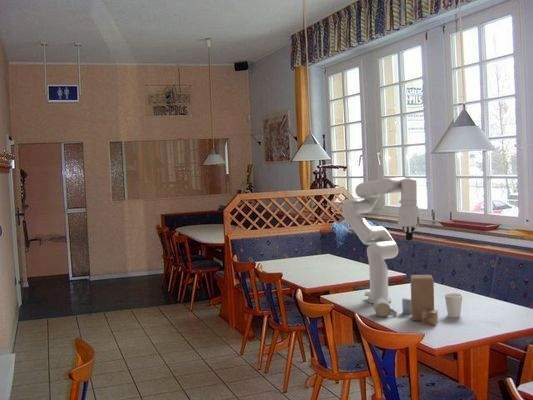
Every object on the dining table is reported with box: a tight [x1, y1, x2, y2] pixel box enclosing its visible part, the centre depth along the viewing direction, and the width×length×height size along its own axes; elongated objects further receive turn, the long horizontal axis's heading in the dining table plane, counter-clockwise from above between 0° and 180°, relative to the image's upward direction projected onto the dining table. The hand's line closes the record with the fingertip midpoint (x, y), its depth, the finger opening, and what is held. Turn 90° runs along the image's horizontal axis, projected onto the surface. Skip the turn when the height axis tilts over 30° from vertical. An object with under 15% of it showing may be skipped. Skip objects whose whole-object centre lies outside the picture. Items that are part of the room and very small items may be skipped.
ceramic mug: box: [373, 298, 398, 318], centre depth 290 cm, size 11×8×8 cm
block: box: [410, 274, 435, 322], centre depth 281 cm, size 10×10×20 cm
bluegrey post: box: [401, 297, 412, 316], centre depth 292 cm, size 5×5×7 cm
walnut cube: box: [421, 309, 439, 327], centre depth 272 cm, size 6×6×6 cm
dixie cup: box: [444, 292, 463, 318], centre depth 284 cm, size 8×8×10 cm
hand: (409, 240), depth 298 cm, fingers closed
